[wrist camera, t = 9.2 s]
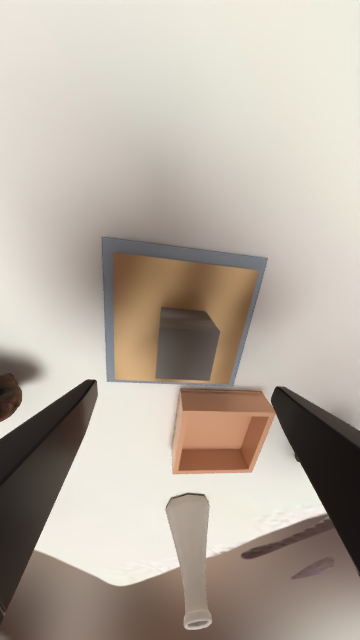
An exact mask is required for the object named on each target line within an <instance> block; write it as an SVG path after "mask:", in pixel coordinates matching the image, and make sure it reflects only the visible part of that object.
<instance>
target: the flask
mask: <svg viewBox="0 0 360 640" xmlns="http://www.w3.org/2000/svg"><path fill="white" fill-rule="evenodd" d="M166 514H167V518H168V521H169V525H170V529H171V532H172V536H173V540H174V544H175V548H176V552H177V556H178V560H179V564H180V568H181V573H182V580H183V587H184V594H185V609H186V616H185V617H184V627H185V628H186V629H187V630H193V629H200V628H204V627H207V626H209V625H210V624H211V623H212V618H211V614H210V613H209V611H208V606H207V597H206V580H205V559H206V543H207V529H208V517H209V503H208V501H207V499H206V497H205V496H198V495H185V496H181V497H178V498H175V499H171V500H170V502H169V504H168V506H167V508H166Z"/></svg>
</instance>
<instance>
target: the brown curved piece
mask: <svg viewBox="0 0 360 640" xmlns="http://www.w3.org/2000/svg"><path fill="white" fill-rule="evenodd" d="M21 402H22V391H21V389H20V388H19V387H18V386H17V381H16V379H15V377H14V376H13V375H12V374H11V373H7V374H5V375H2V376H0V422H1V421H3V420H5V419H7V418H8V417H10V416H11V415H12V414H13V413H14V412H15V411H16V409H17V408H18V407H19V406H20V404H21Z"/></svg>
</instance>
